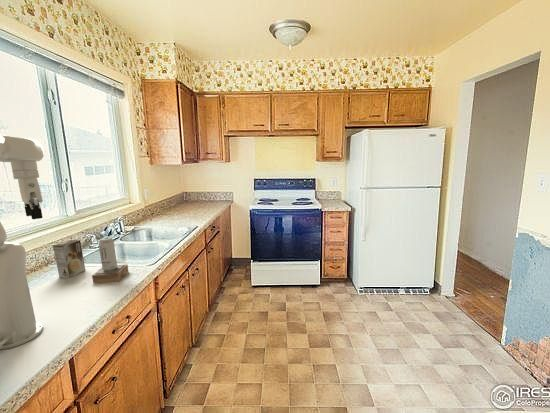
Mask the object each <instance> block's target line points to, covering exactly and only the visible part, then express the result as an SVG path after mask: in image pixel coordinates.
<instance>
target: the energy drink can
mask: <svg viewBox="0 0 550 413" xmlns="http://www.w3.org/2000/svg"><path fill="white" fill-rule="evenodd" d="M115 248H116V246H115V241H114V239H113V238H112V237H110V236H106V237H101V238H100V239H99V241H98V249H99V253H100V262H101V268H102V269H103V270H104V271H112V270H114V269H116V267H117V265H118V262H117V255H116V254H117V253H116V249H115Z"/></svg>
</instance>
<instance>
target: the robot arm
mask: <svg viewBox="0 0 550 413" xmlns="http://www.w3.org/2000/svg"><path fill="white" fill-rule="evenodd" d="M44 151H45V150H44V147H43V146H42V144H41V142H39V141H37V140H35V139H32V138H27V137H19V136H11V135H5V134H0V162H1V163H10V166H11V172H12V177H13V180H17V181H18V183H17V184H18V188H19V192H20V197H21V201H22V202H23V203H24V204H23V205H24V212H25V216H26V217H31V219H32V220H39V219H43V212H42V208H41V207H42V206H41V205H40V204H41V203H43V196H42V192H41V188H40V183H39V180H38V178H40V174H39V169H38V163H37V162H40V161H42V160H43V158H44V156H45V152H44ZM7 237H8V236H7V232H6V230H5V228H4V226H3V224H2V222H1V221H0V350H6V349H12V348H16V347H17V346H21V345H24V344H25V343H28V342H30V341H31V340H34V338H36V337H38V336H39V335H40V334H41V333H42V332H43V331H44V325H43V323H42V322H40V321H37V320H36V316H35V311H34V306H33V302H32V298H31V293H30V292H31V291H30V288H29V281H28V278H27V277H28V276H27V269H26V268H27V266H26V265H27V264H26V262H27V261H26V259H27V254H26V253H27V252H26V249H25V247H24V245H22V244H21V243H18V242H14V241H13V242H12V241H7Z"/></svg>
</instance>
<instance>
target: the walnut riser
mask: <svg viewBox="0 0 550 413" xmlns="http://www.w3.org/2000/svg"><path fill="white" fill-rule="evenodd" d="M128 266H129V265H128V263H126V264H117V267H116V269H114V270H112V271H104V270H103V269H102V267H101V268H99V269H98V270H97V271H95V272H94V273H93V274H92V275H91V276H92V277H91V278H92V284H107V283H108V284H110V283H111V284H112V283H120V282H121V281H122V279H123V278H124V277H125V276H126V275H127V274H128V273H129V267H128Z"/></svg>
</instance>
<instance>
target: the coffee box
mask: <svg viewBox="0 0 550 413" xmlns="http://www.w3.org/2000/svg"><path fill="white" fill-rule="evenodd" d="M52 247H53V252H54V258H55V263H56V268H57V273H58V277H59V278H67V279H69V278H71V277H74V276H76V275H78V274H81V273H82V272H85V271H86V266H85V260H84V254H83V250H82V243H81V239H79V240H78V239H73V240H72V239H69V240H66V241H64V242H59V243H58V244H54V245H53V246H52Z"/></svg>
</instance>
